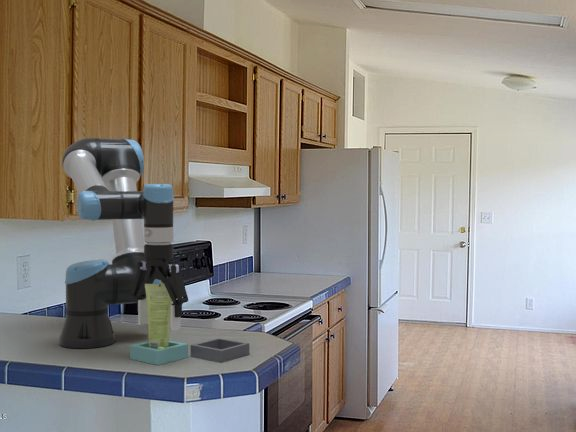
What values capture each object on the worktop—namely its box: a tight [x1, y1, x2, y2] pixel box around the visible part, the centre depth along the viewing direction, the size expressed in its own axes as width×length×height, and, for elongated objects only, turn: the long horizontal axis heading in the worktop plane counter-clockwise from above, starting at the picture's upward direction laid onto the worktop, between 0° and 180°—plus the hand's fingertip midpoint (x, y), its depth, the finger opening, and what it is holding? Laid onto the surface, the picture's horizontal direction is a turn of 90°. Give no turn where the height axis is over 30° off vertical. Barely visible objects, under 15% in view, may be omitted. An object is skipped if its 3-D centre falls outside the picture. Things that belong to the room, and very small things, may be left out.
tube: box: [145, 284, 173, 349], centre depth 187 cm, size 6×5×20 cm
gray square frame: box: [190, 337, 250, 363], centre depth 190 cm, size 11×11×3 cm
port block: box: [129, 340, 189, 366], centre depth 187 cm, size 10×10×4 cm
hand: (159, 326), depth 187 cm, fingers open, 11 cm apart
